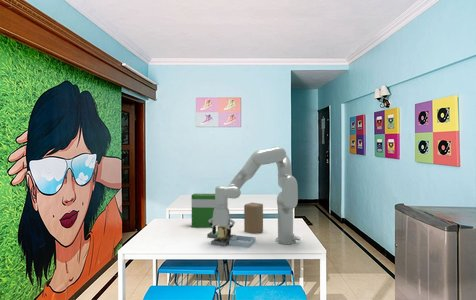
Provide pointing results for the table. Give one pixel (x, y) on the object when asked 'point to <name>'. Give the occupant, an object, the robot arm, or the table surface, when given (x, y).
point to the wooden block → (253, 218)
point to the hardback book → (202, 210)
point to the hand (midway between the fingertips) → (221, 234)
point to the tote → (242, 244)
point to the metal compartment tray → (216, 242)
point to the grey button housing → (211, 235)
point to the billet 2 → (226, 233)
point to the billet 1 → (222, 233)
